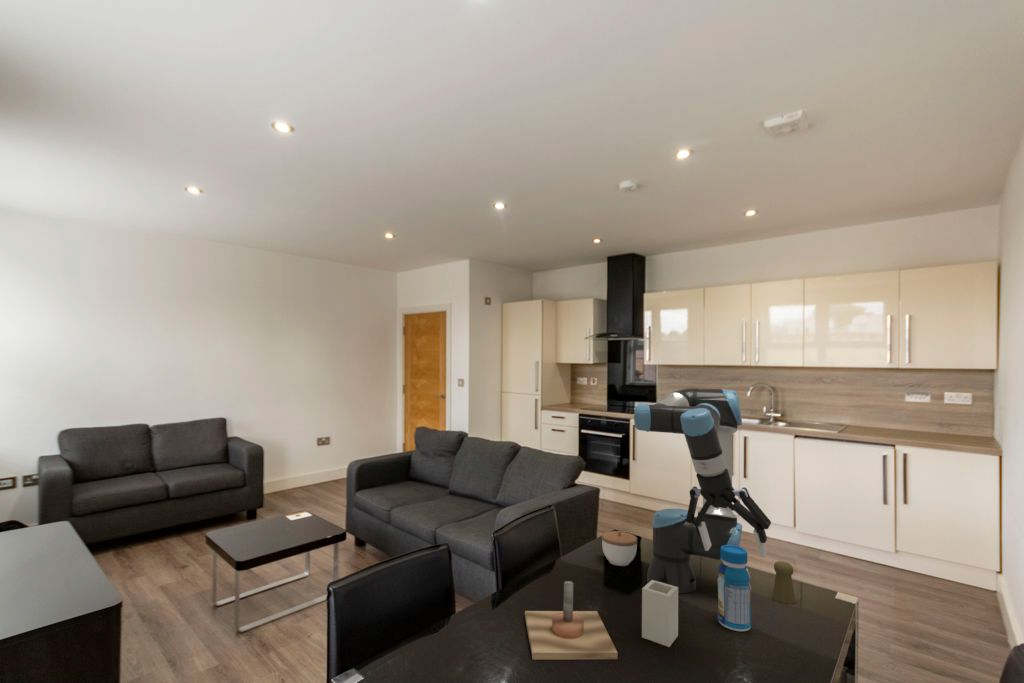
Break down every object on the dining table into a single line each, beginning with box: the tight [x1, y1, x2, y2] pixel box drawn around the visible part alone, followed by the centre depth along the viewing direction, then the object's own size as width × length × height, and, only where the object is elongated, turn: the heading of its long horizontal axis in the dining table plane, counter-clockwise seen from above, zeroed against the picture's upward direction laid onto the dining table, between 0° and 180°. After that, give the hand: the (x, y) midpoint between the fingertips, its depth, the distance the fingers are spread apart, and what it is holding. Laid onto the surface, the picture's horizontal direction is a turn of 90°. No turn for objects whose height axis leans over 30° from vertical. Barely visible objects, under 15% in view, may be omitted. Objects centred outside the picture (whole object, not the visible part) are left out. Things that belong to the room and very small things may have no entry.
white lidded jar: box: [601, 530, 638, 567], centre depth 171 cm, size 13×13×11 cm
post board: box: [524, 580, 619, 661], centre depth 120 cm, size 20×20×13 cm
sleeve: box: [641, 580, 679, 648], centre depth 122 cm, size 7×7×12 cm
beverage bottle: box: [716, 545, 752, 632], centre depth 129 cm, size 8×8×20 cm
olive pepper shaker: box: [772, 560, 796, 605], centre depth 145 cm, size 6×6×11 cm
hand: (735, 551), depth 118 cm, fingers open, 13 cm apart
